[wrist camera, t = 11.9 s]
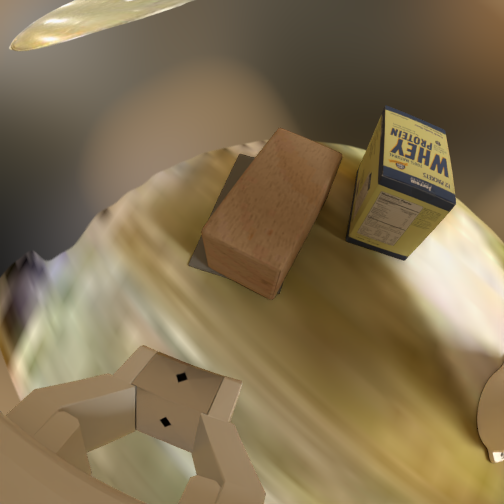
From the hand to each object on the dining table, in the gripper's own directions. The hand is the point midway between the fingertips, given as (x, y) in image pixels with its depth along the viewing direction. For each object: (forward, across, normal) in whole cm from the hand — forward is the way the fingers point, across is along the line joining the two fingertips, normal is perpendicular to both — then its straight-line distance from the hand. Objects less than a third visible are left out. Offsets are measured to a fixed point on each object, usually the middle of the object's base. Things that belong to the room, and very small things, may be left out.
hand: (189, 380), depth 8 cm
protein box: (+46, -14, -2) cm, 48 cm away
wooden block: (+28, +4, +8) cm, 29 cm away
